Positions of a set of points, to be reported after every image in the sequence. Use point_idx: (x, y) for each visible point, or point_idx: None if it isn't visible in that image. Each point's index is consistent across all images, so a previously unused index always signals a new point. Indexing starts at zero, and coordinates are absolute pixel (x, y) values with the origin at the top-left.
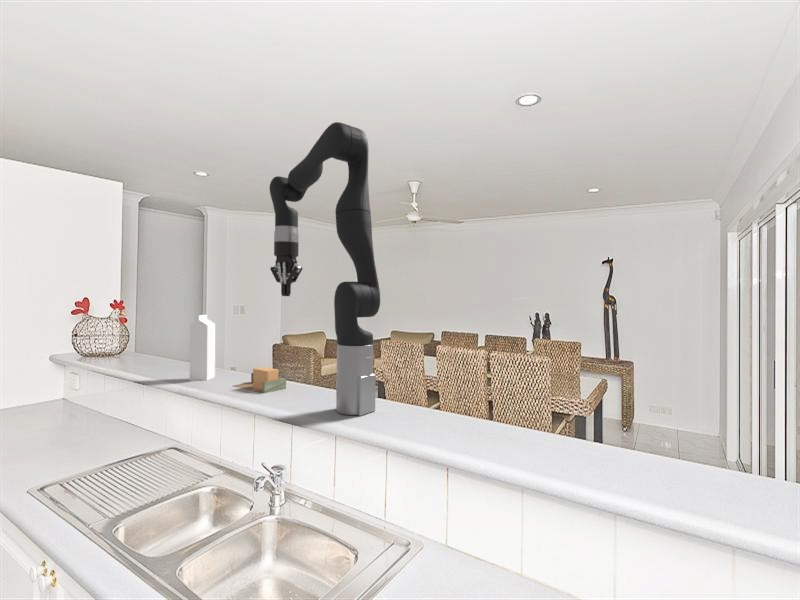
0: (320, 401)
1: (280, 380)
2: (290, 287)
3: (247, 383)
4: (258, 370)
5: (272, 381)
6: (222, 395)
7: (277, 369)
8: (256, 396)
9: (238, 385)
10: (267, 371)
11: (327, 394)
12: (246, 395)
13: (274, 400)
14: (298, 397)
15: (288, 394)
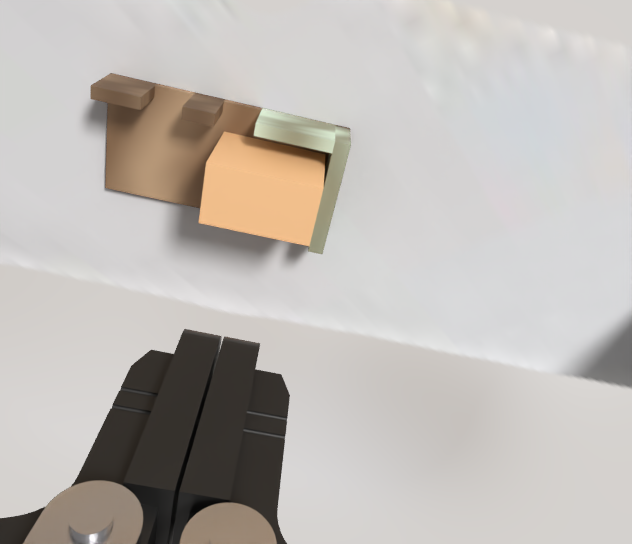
0: (579, 227)
1: (342, 176)
2: (279, 476)
3: (118, 120)
4: (240, 229)
5: (331, 218)
6: (194, 294)
7: (317, 189)
8: (312, 260)
9: (122, 171)
10: (306, 244)
11: (567, 116)
12: (268, 262)
13: (409, 278)
14: (469, 211)
15: (405, 187)
